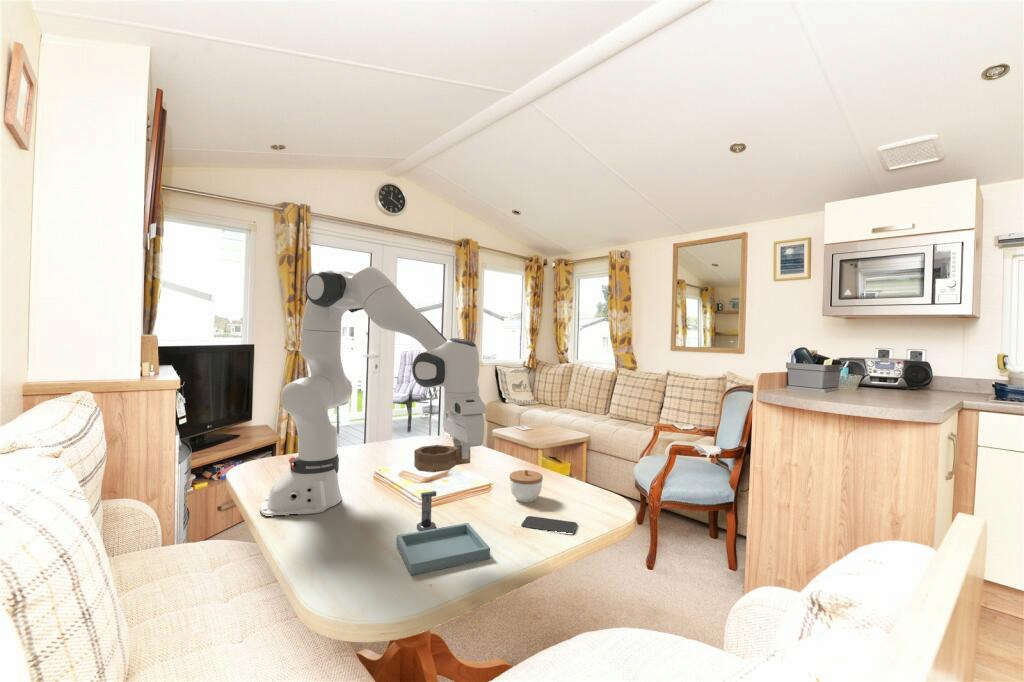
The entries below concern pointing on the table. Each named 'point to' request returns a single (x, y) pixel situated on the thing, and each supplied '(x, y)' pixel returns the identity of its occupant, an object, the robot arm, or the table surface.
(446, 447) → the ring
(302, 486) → the robot arm
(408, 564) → the tray
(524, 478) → the lidded jar
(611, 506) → the table surface
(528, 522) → the smartphone
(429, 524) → the stake
